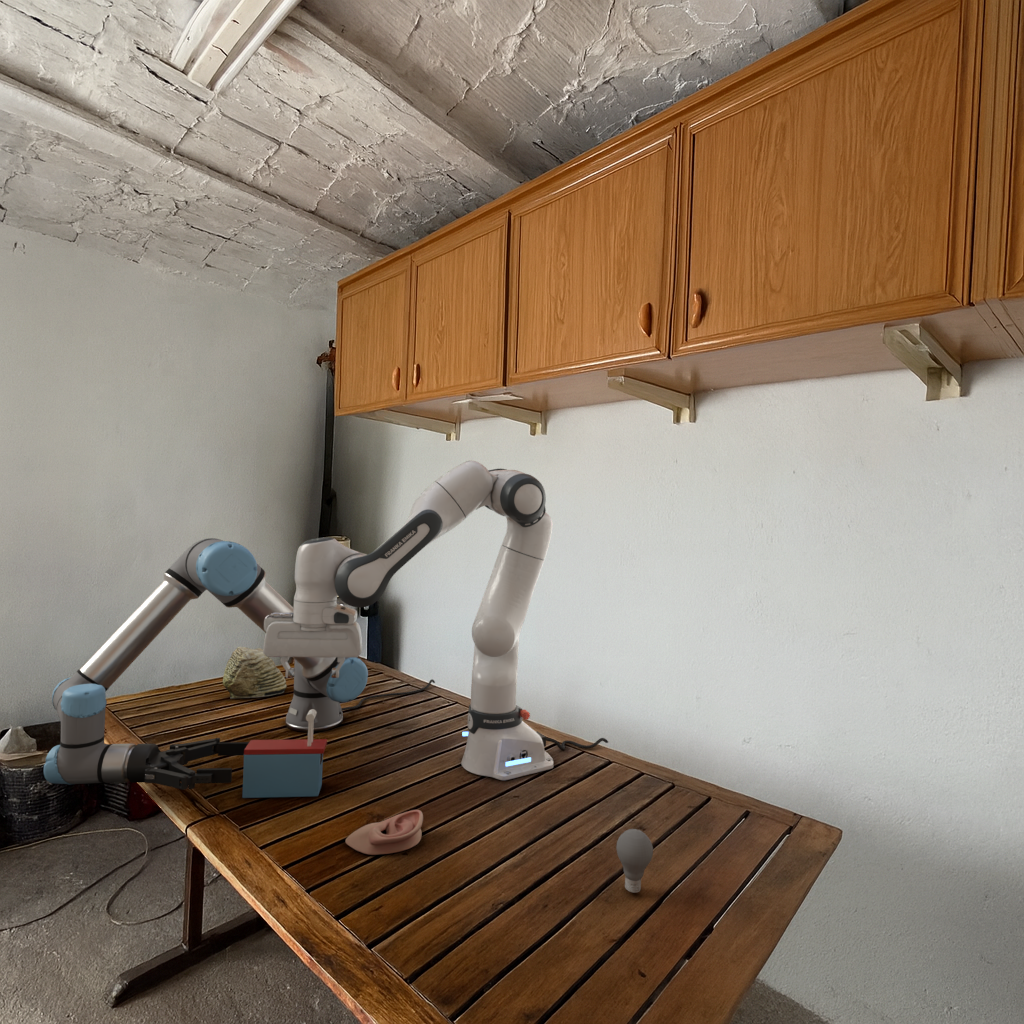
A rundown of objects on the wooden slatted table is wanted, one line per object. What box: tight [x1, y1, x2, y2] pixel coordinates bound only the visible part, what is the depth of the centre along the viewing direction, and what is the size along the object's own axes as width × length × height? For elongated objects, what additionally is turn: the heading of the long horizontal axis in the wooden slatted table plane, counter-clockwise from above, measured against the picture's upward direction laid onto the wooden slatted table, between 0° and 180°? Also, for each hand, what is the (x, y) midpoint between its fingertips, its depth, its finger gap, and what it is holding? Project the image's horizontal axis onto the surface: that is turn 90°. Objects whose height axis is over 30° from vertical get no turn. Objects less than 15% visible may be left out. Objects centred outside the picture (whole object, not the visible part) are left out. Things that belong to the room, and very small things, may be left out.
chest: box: [241, 753, 324, 799], centre depth 135 cm, size 15×5×9 cm, turn 98°
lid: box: [244, 709, 328, 755], centre depth 135 cm, size 16×5×8 cm, turn 98°
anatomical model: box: [344, 809, 424, 856], centre depth 118 cm, size 13×4×12 cm
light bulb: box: [615, 828, 654, 894], centre depth 106 cm, size 6×6×10 cm
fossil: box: [222, 646, 288, 699], centre depth 198 cm, size 9×18×15 cm, turn 132°
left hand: (241, 761), depth 134 cm, fingers open, 13 cm apart
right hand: (312, 677), depth 136 cm, fingers open, 8 cm apart
